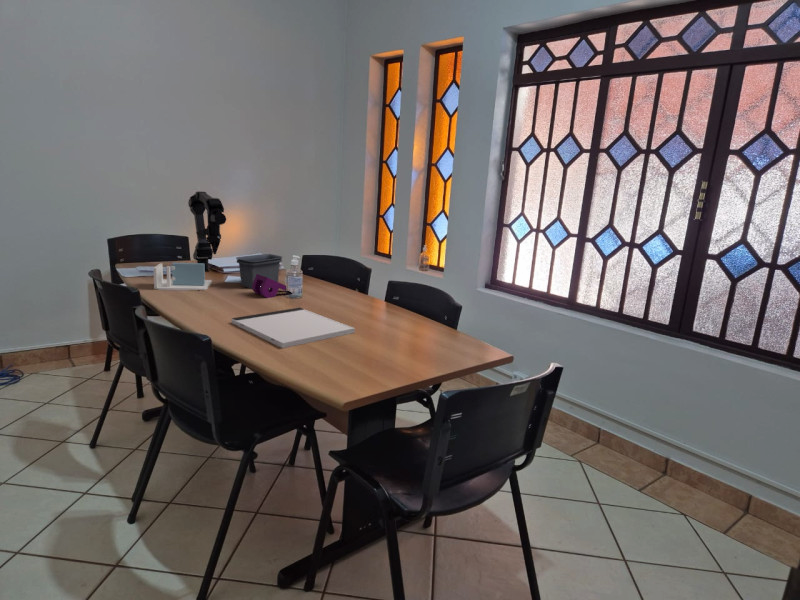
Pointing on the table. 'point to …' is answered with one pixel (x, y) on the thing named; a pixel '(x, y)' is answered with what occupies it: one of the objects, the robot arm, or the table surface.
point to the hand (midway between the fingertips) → (214, 254)
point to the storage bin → (258, 267)
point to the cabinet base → (167, 283)
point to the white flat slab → (292, 327)
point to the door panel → (188, 274)
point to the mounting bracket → (266, 286)
